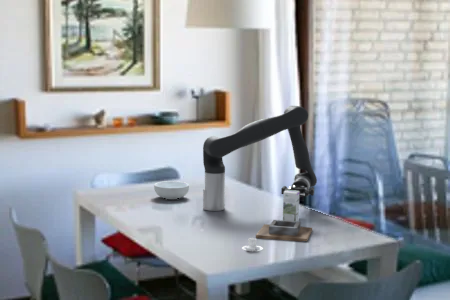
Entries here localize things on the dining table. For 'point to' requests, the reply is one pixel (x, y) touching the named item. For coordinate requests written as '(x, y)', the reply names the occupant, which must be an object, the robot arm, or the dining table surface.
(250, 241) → the teacup and saucer
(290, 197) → the syrup box
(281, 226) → the collar board
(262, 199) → the dining table surface
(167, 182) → the cereal bowl
